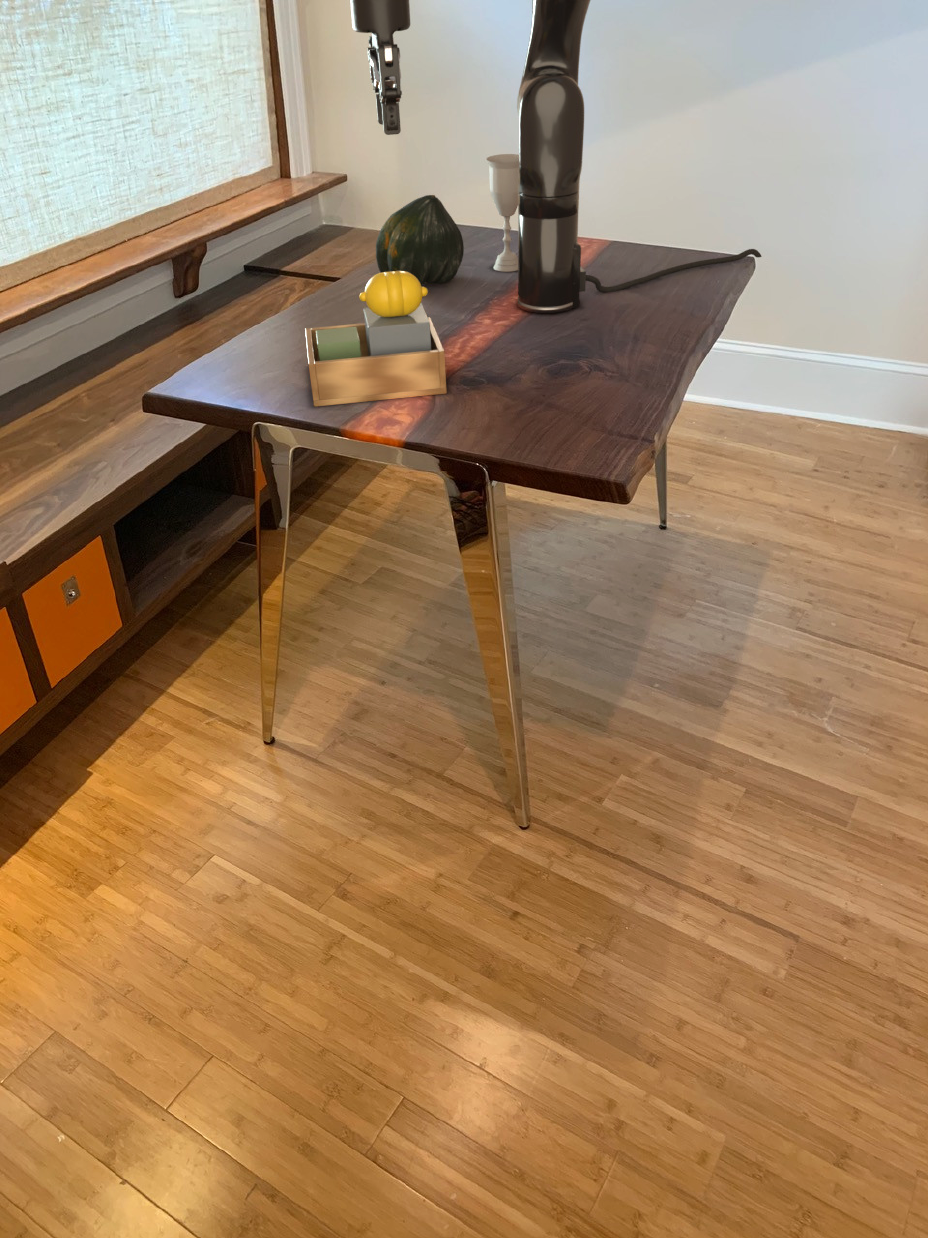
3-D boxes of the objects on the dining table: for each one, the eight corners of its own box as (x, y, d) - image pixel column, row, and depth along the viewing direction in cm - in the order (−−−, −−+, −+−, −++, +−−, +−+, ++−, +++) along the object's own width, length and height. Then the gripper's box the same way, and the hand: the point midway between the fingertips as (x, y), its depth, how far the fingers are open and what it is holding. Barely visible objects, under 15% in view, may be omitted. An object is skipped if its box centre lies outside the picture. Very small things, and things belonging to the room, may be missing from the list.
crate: (432, 356, 137) (430, 316, 134) (446, 393, 126) (444, 351, 123) (310, 368, 135) (305, 328, 132) (314, 406, 124) (308, 364, 121)
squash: (352, 246, 166) (380, 185, 153) (422, 233, 173) (455, 174, 160) (389, 315, 164) (420, 260, 151) (458, 299, 172) (493, 245, 159)
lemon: (425, 303, 129) (423, 261, 125) (431, 320, 124) (429, 278, 121) (359, 309, 128) (355, 267, 124) (363, 326, 123) (359, 284, 120)
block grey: (425, 359, 134) (421, 302, 130) (433, 380, 128) (429, 321, 123) (368, 364, 133) (363, 307, 129) (374, 386, 127) (368, 327, 122)
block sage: (360, 368, 132) (356, 326, 129) (363, 383, 128) (359, 340, 124) (321, 372, 132) (315, 330, 128) (323, 387, 127) (317, 344, 124)
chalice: (526, 272, 168) (527, 161, 157) (488, 273, 168) (486, 163, 158) (525, 260, 174) (525, 153, 163) (488, 261, 174) (486, 154, 163)
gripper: (415, -13, 115) (423, 135, 124) (401, -18, 126) (410, 118, 136) (353, -10, 114) (366, 139, 123) (345, -15, 125) (357, 122, 135)
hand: (389, 128), depth 130 cm, fingers open, 8 cm apart
